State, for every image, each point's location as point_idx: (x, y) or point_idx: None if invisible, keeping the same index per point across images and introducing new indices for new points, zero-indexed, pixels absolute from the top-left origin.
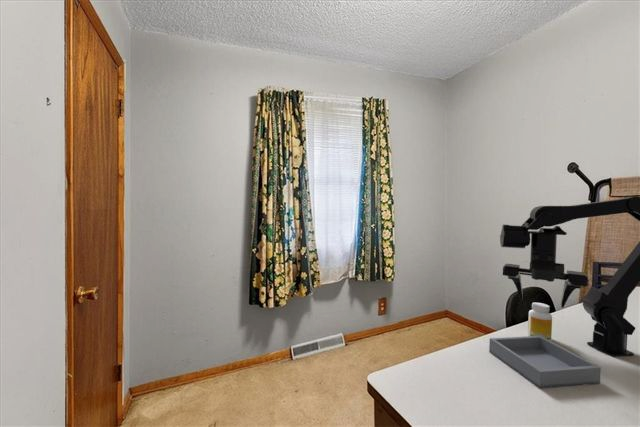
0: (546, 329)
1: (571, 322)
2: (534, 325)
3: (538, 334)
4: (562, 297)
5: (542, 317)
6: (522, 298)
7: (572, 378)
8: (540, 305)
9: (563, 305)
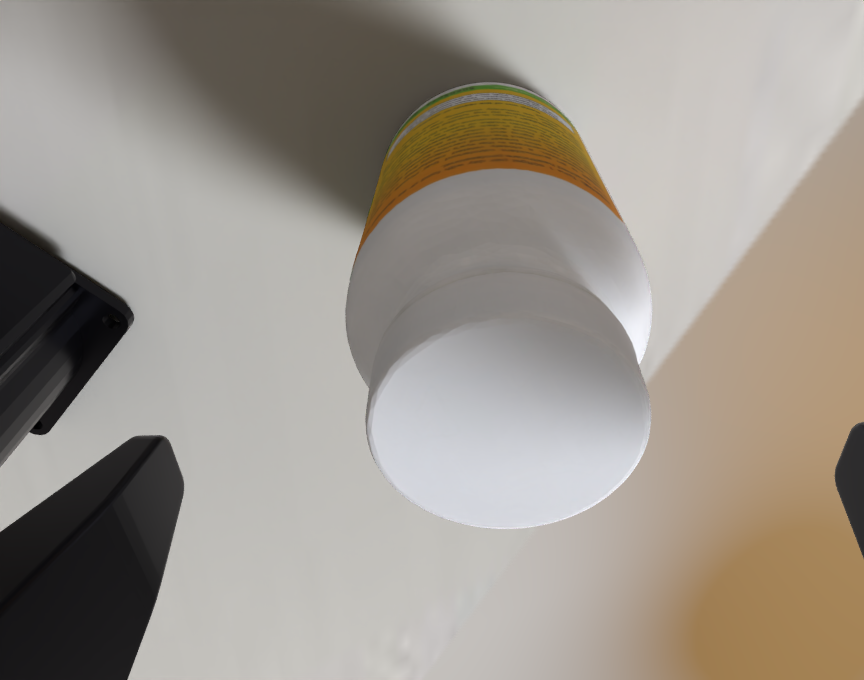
0: (414, 144)
1: (295, 638)
2: (554, 143)
3: (497, 97)
4: (65, 652)
5: (466, 184)
6: (847, 498)
7: None
8: (511, 394)
9: (109, 464)
